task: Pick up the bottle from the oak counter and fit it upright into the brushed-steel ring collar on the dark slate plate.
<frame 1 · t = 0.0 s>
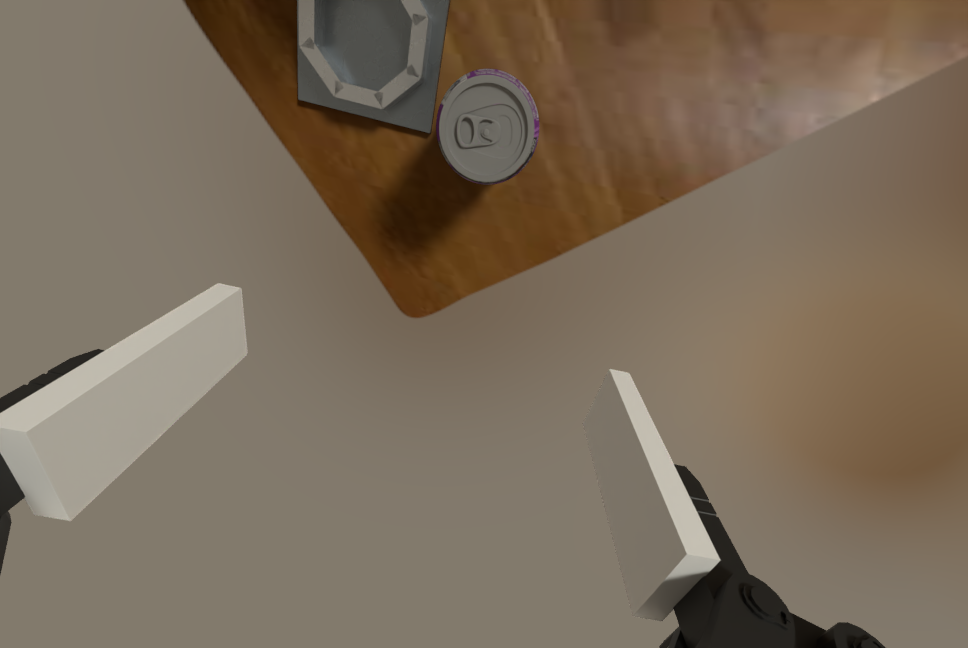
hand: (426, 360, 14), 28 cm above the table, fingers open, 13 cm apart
ring seat: (372, 37, 32), on the table
beverage can: (491, 126, 35), on the table
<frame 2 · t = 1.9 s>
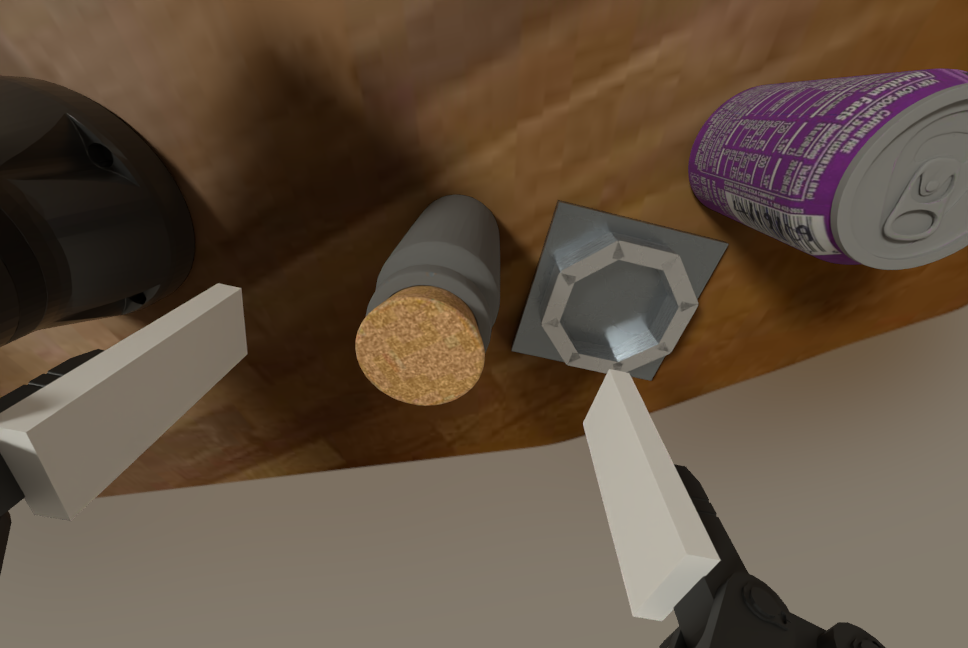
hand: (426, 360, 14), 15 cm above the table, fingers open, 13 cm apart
ring seat: (608, 298, 29), on the table
beverage can: (740, 152, 24), on the table
bottle: (458, 235, 27), on the table
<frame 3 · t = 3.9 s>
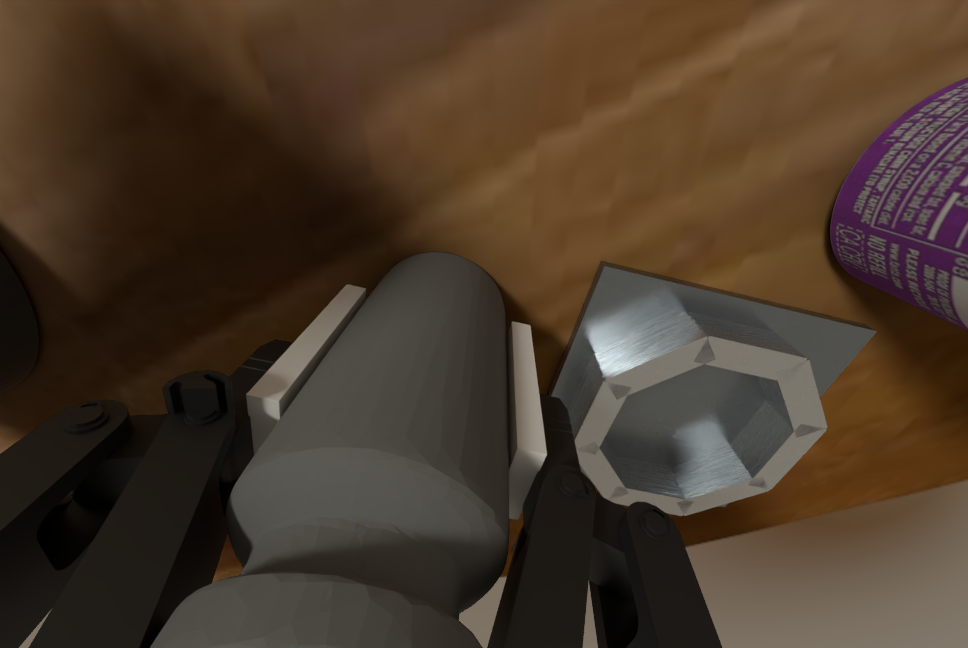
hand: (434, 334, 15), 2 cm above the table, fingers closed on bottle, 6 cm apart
ring seat: (670, 400, 19), on the table
beverage can: (918, 187, 14), on the table
bottle: (441, 311, 17), on the table, touching gripper
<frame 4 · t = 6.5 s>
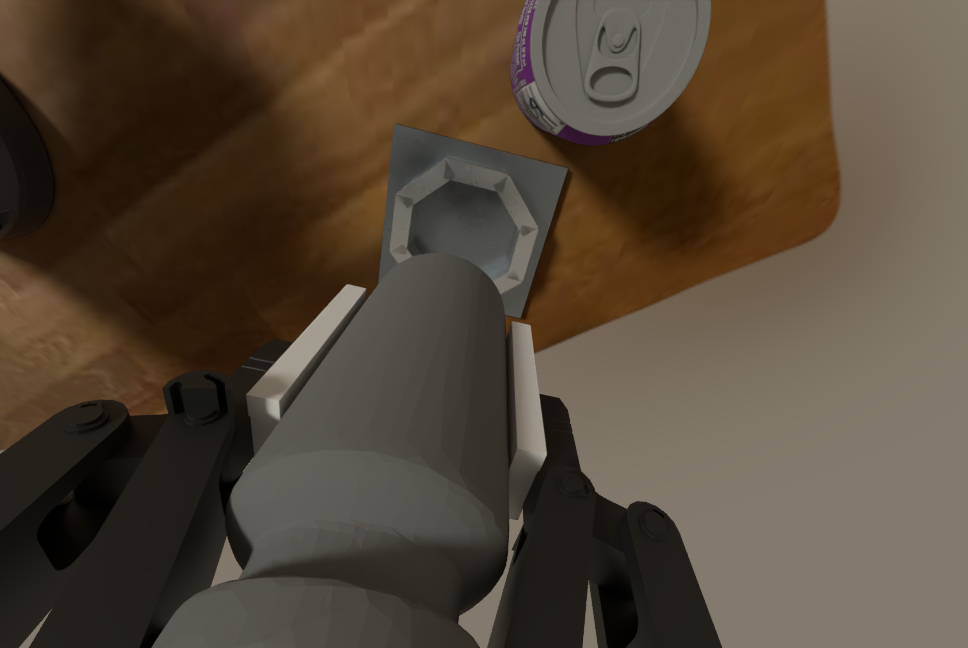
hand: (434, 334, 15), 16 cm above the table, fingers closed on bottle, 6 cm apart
ring seat: (465, 230, 29), on the table
beverage can: (566, 71, 24), on the table
bottle: (440, 311, 17), point 13 cm above the table, touching gripper
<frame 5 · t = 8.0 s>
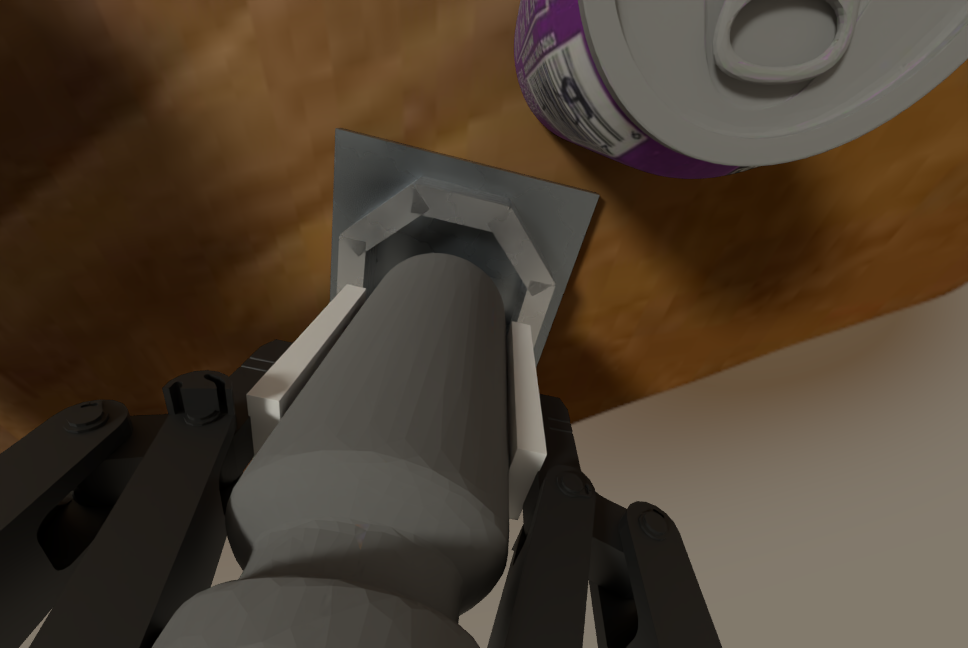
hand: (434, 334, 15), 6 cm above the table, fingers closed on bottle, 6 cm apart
ring seat: (448, 279, 20), on the table
beverage can: (601, 46, 15), on the table
bottle: (440, 311, 17), point 4 cm above the table, touching gripper
when the fingers open (4 cm above the table, at t = 9.2 s): bottle drops 1 cm, resting on ring seat.
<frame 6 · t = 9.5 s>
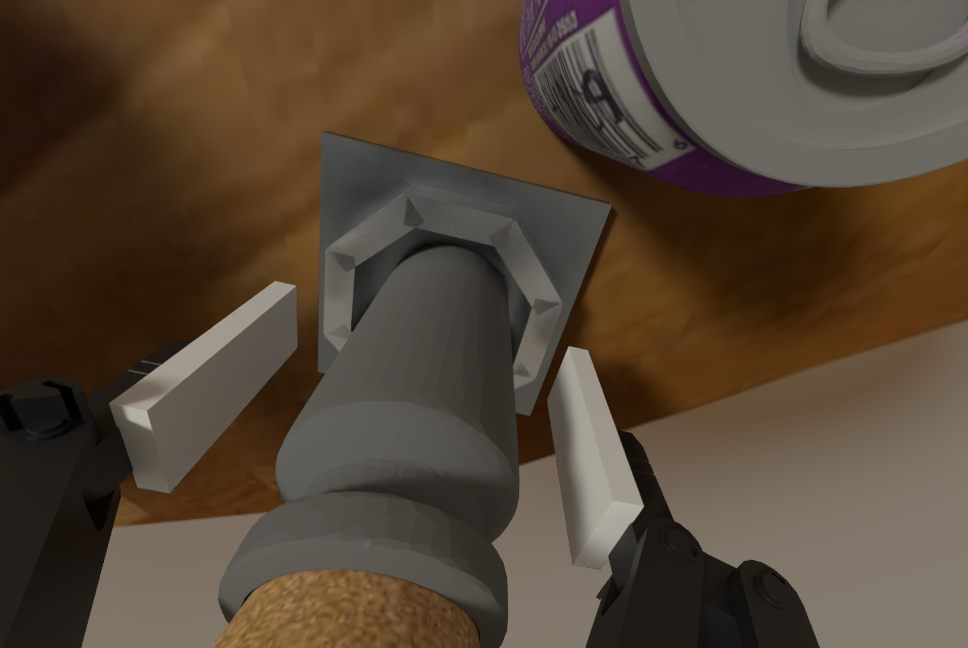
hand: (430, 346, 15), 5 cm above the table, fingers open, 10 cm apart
ring seat: (446, 294, 19), on the table
beverage can: (615, 41, 14), on the table
bottle: (448, 300, 18), resting on ring seat
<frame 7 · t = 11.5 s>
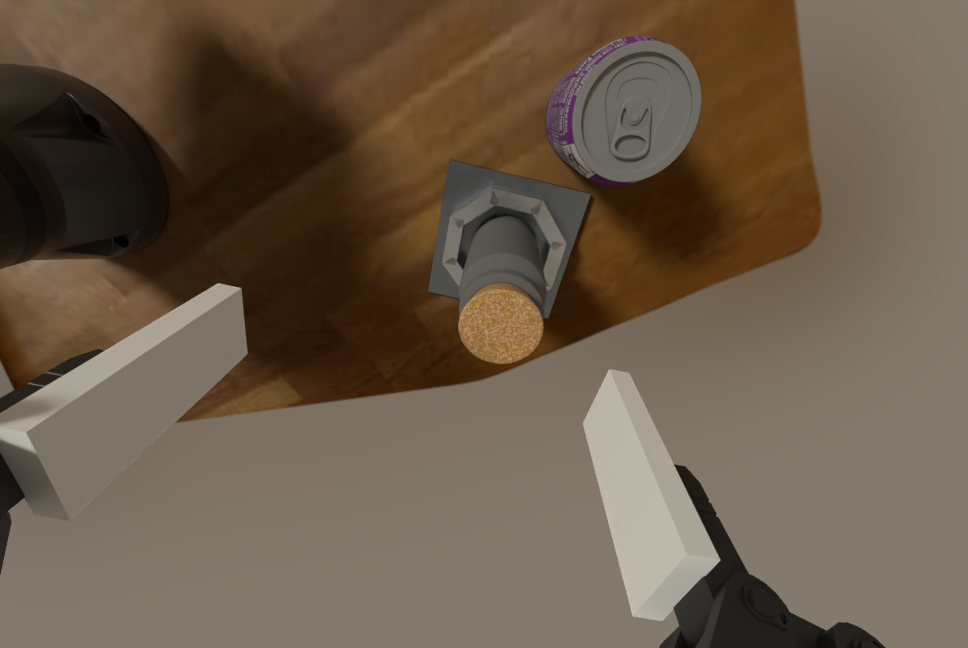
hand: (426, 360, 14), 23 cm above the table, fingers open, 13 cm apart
ring seat: (503, 244, 34), on the table
beverage can: (590, 117, 29), on the table
bottle: (504, 246, 34), resting on ring seat
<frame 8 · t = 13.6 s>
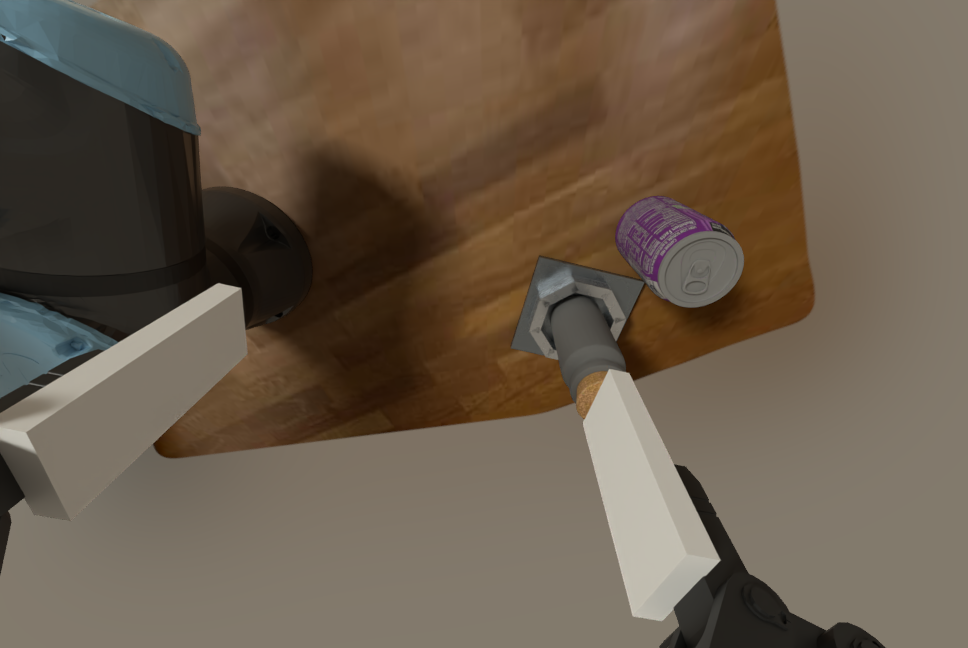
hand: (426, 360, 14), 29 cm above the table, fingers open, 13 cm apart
ring seat: (573, 314, 45), on the table
beverage can: (647, 229, 40), on the table
bottle: (574, 316, 44), resting on ring seat
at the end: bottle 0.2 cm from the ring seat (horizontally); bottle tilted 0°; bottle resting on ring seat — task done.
